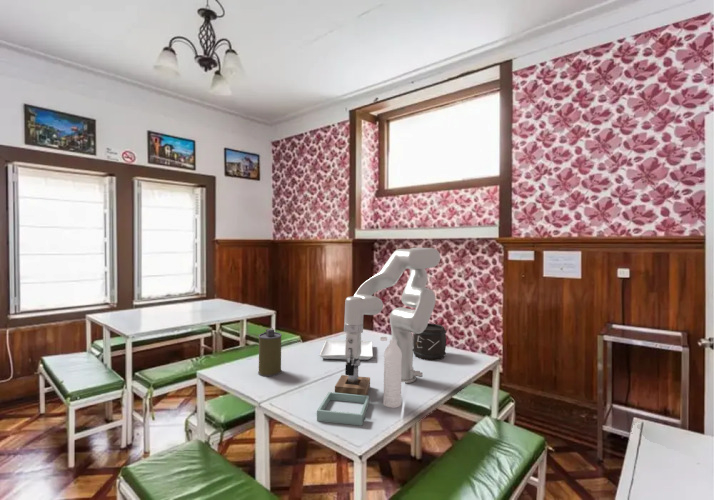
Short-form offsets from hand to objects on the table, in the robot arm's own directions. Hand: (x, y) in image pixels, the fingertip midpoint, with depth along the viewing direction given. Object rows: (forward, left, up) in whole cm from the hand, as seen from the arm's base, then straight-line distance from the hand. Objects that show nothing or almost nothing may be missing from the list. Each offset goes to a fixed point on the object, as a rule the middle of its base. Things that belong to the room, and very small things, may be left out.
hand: (351, 370), depth 147 cm
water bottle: (-16, +6, -10) cm, 20 cm away
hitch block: (0, -1, -10) cm, 10 cm away
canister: (+42, -16, -10) cm, 45 cm away
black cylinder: (-30, -58, -10) cm, 66 cm away
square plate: (+13, -52, -10) cm, 54 cm away
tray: (0, +15, -10) cm, 18 cm away
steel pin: (0, -1, -9) cm, 9 cm away
